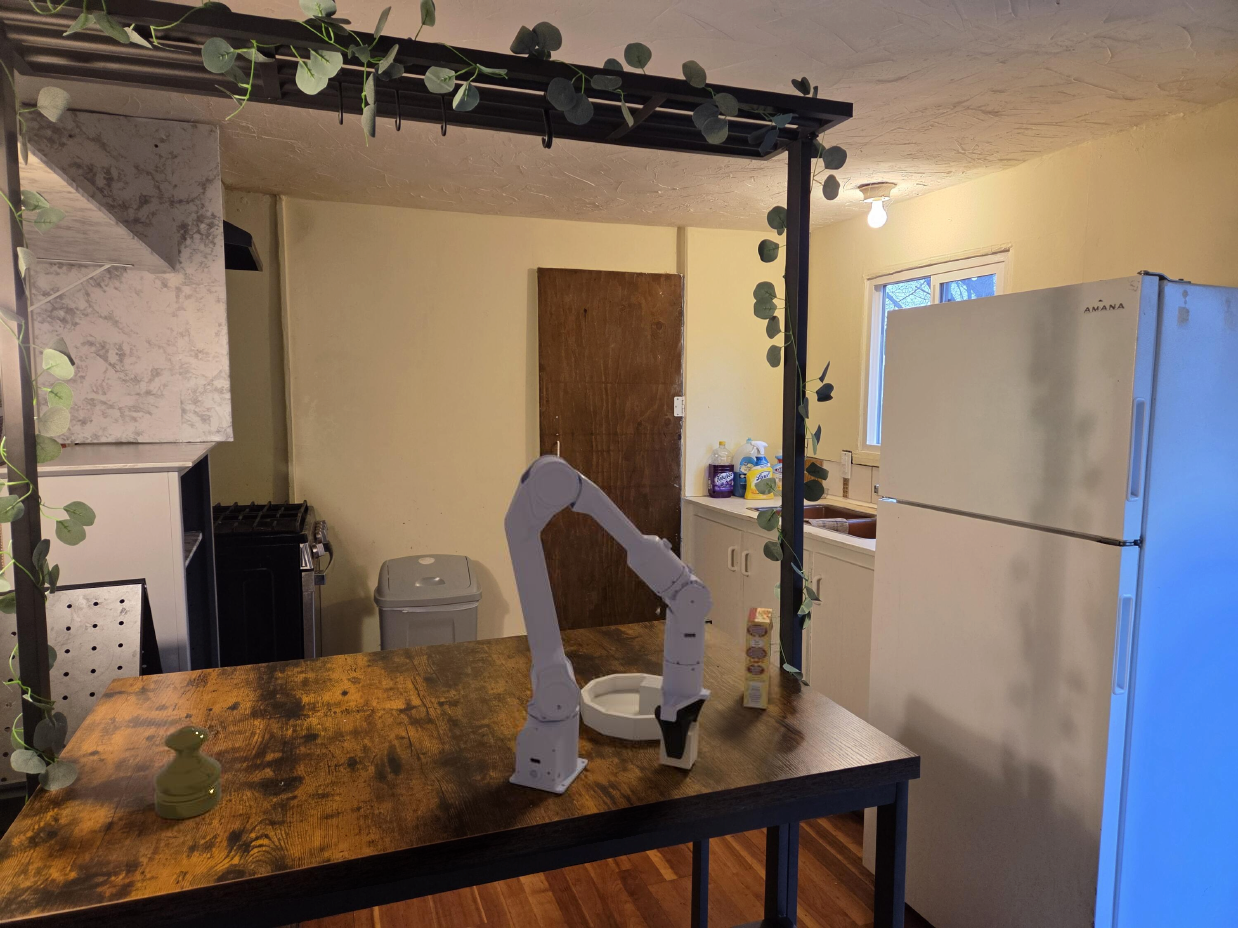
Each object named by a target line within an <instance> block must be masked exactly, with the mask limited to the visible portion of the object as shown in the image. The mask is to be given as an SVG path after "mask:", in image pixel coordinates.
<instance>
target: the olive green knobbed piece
mask: <svg viewBox="0 0 1238 928" xmlns="http://www.w3.org/2000/svg"><path fill="white" fill-rule="evenodd" d="M210 737H211V733H210V730H208V729H207V728H204V727H200V726H194V725H184V726H182V727H180V728H178V729H176V730H175V731H172V732H171V733H169V734H168V735H167V736H166V737H165V738H164V743H163V744H164V746H165V747H167V748H168V749H170V750H172V751H173V752H174V753H175V756H174V757H173V758H172V759H171V760H170V761H168V762H167V764H166V765H164V766H163V767H162V768H160V769H159V770H158V771H157V772H156V773H155V775H154V778H153V785H154V788H155V793H154V795H153V798H154V809H155V813H156V815H157V816H159V817H161V818H164V819H166V820H167V819H168V820H184V819H190V818H194V817H197V816H200V815H202V814H205V813H207V812H208V811H210V810H212V809H213V808H214V807H216V806H217V805H218V804H219V802H220V801H221V799H222V784H223V783H222V782H223V781H222V780H221V779H220V777H221V774H222V765H221V763H220V762H219V761H217V760H216V758H212V757H209V756H208V755H206V754H204V753H203V752H202V751H201V748H202V746H203V745H204V744H205V743H207V742H208V741H209V739H210Z"/></svg>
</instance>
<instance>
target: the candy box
mask: <svg viewBox="0 0 1238 928" xmlns="http://www.w3.org/2000/svg"><path fill="white" fill-rule="evenodd" d="M772 623H773V609H772V608H762V607H750V608H749V611H748V617H747V620H746V628H745V629H746V630H745V631H746V632H745V634H746V636H745V656H744V657H745V659H744V661H745V662H744V687H743V707H745V708H754V709H763V710H766V709H767V705H768V698H769V689H770V688H769V687H770V674H771V673H770V672H771V650H772V628H773V627H772Z"/></svg>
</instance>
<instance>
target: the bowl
mask: <svg viewBox="0 0 1238 928" xmlns="http://www.w3.org/2000/svg"><path fill="white" fill-rule="evenodd" d="M648 676H651V677H657V678H663V676H661V675H660V676H659V675H656V674H655V675H653V674H648V673H643V672H639V673H637V672H636V673H614V674H609V675H605V676H602V677H599V678H595V679H591V680H590V681H589V682H588V683H587V684H586V685H585V686H584V687H583V688H582V689H581V690H580V702H579V713H580V715H581V718H582V721H583V724H585V725H586V726H588V727H589V728H592V729H593V730H594V731H597V732H598V733H601V734H602V735H604V736H609V737H614V738H619V739H625V740H630V741H648V740H649V741H650V740H661V728H660V725H659V723H658V721H657V719H656V718H655V715H639V690H640V684H641V683H642V682H643V681H644V680H645V679H646V678H647V677H648Z"/></svg>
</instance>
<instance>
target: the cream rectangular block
mask: <svg viewBox="0 0 1238 928" xmlns="http://www.w3.org/2000/svg"><path fill="white" fill-rule="evenodd" d="M699 726H700V723H699V722H698V721H697V722H692V723H691V725H690V728H689V731H688V735H687V739H686V745H685V750H684V753H683V756H682V758H681V759H680V760H679V759H675V758H670V757H667V754H666V750H665V744H664V739H663V734H662V731H661V739H660V747H659V764H663V765H668V766H672V767H675V768H676V767H678V768H681V769H687V770H691V768H692V766H693V765H694V762H695V761H696V759H697V757H698V753H699V752H698V750H699V747H698V746H699V729H700V727H699Z"/></svg>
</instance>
